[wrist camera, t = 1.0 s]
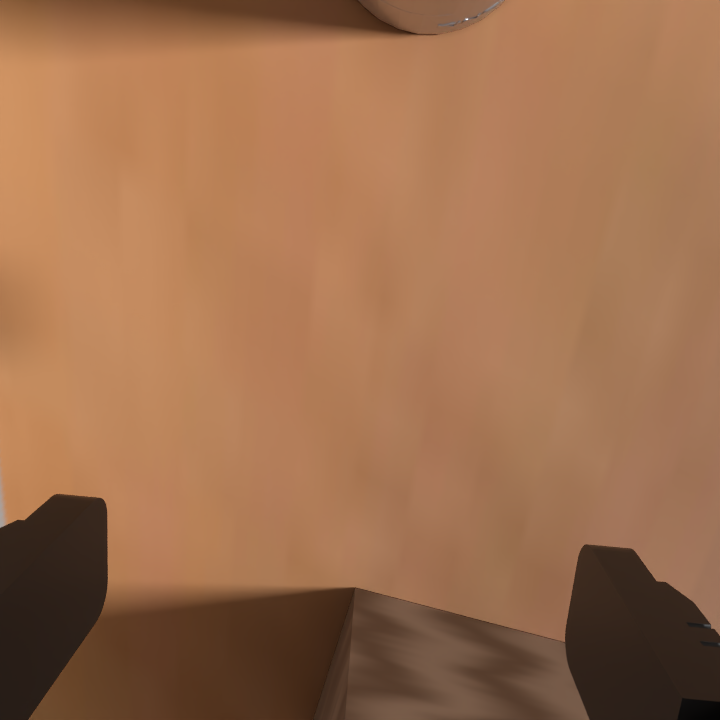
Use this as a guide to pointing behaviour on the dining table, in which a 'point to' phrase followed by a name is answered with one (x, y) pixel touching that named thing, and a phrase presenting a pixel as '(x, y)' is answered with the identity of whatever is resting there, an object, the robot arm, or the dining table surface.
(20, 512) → the dining table surface
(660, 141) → the dining table surface
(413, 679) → the walnut pillar
